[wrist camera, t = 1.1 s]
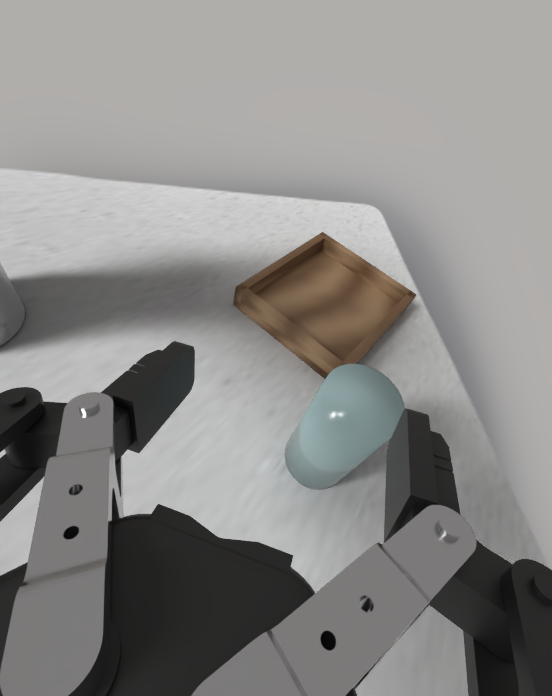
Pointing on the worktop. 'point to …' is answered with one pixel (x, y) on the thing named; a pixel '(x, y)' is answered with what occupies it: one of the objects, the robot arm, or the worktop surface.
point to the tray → (323, 303)
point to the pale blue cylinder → (343, 425)
